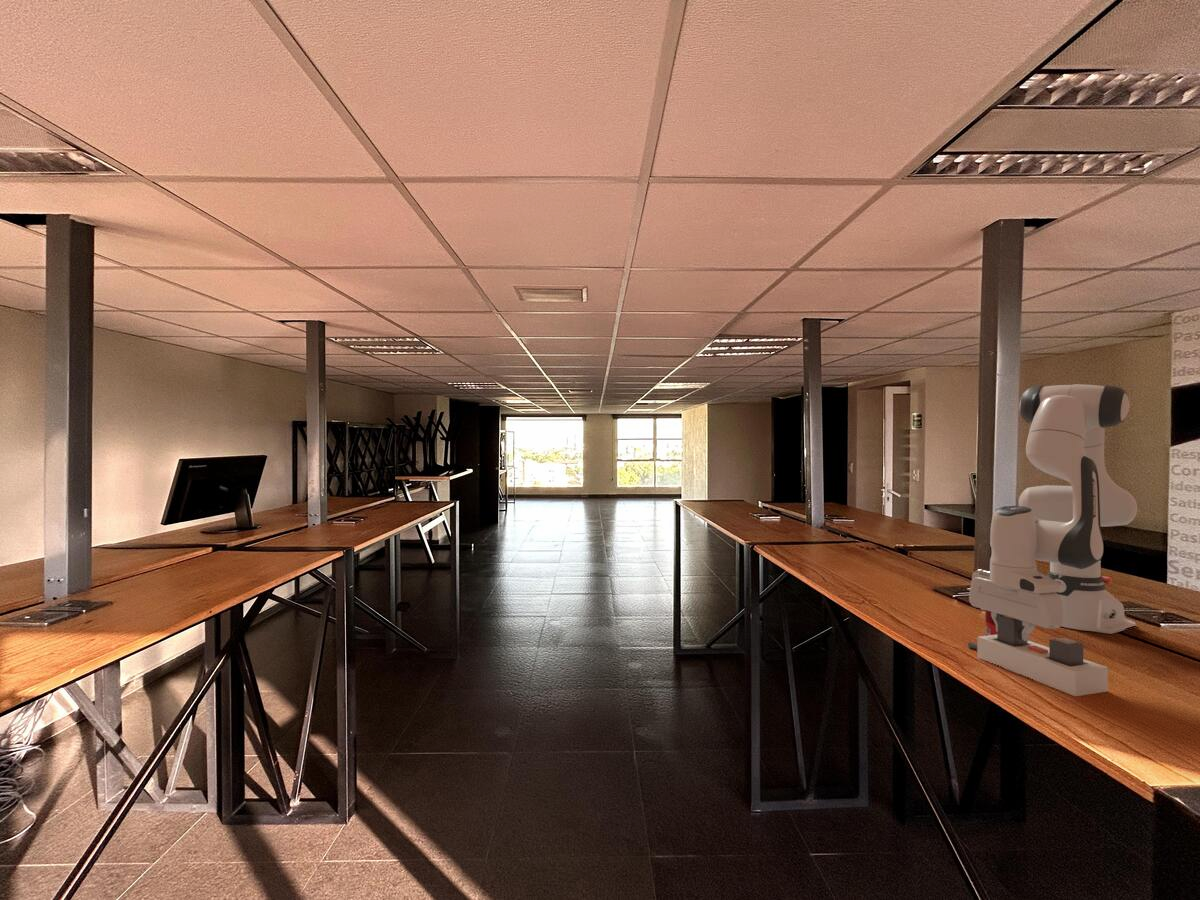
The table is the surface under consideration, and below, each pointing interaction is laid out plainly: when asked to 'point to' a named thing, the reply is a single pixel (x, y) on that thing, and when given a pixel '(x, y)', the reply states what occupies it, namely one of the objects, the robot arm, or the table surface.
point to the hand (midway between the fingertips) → (1012, 636)
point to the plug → (1010, 631)
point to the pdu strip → (1047, 663)
